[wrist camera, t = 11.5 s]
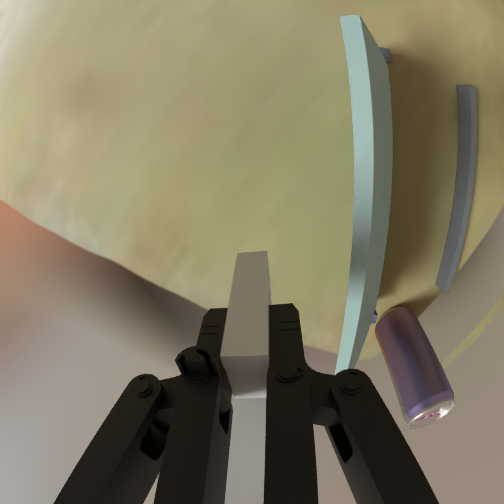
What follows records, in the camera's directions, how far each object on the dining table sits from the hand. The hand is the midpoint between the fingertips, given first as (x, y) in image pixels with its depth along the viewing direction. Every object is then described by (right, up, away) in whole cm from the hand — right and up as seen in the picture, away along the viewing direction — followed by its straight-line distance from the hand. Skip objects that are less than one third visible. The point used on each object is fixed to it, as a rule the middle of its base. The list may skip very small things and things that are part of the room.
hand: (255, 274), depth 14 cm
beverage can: (+19, -8, +18) cm, 27 cm away
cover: (+9, +2, +2) cm, 9 cm away
